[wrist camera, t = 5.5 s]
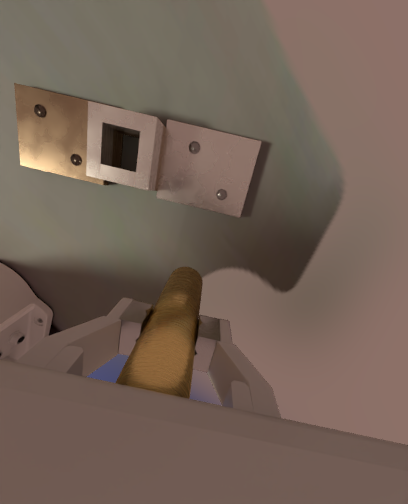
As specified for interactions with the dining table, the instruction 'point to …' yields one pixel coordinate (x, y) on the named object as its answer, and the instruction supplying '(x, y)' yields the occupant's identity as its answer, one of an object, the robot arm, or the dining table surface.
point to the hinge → (149, 153)
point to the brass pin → (168, 339)
